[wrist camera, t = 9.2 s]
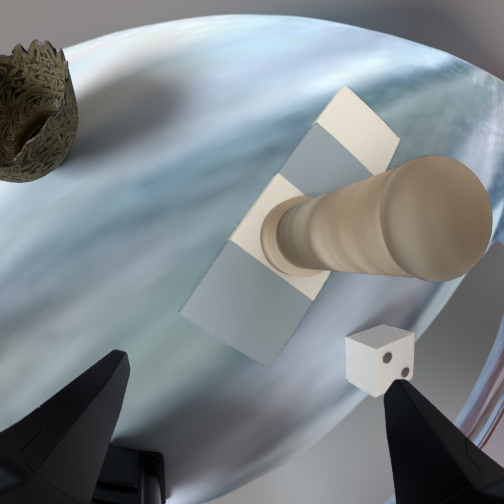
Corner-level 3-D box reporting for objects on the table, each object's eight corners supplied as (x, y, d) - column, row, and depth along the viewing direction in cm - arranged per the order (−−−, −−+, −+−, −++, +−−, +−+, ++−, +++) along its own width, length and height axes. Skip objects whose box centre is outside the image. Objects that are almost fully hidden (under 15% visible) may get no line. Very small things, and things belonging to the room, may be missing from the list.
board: (263, 363, 19) (268, 368, 18) (178, 310, 18) (179, 313, 17) (393, 143, 23) (400, 139, 22) (338, 89, 22) (344, 84, 21)
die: (382, 365, 23) (413, 378, 19) (346, 380, 22) (376, 398, 18) (381, 323, 23) (415, 333, 19) (344, 336, 21) (377, 349, 17)
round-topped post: (324, 279, 20) (509, 300, 7) (255, 271, 18) (435, 298, 5) (331, 207, 20) (507, 162, 7) (265, 193, 19) (430, 98, 6)
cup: (74, 214, 16) (18, 188, 8) (-3, 190, 14) (-68, 161, 6) (114, 113, 17) (94, 41, 9) (36, 98, 15) (-3, 39, 7)
